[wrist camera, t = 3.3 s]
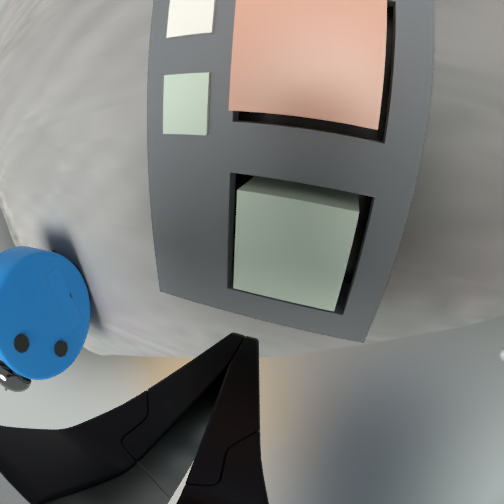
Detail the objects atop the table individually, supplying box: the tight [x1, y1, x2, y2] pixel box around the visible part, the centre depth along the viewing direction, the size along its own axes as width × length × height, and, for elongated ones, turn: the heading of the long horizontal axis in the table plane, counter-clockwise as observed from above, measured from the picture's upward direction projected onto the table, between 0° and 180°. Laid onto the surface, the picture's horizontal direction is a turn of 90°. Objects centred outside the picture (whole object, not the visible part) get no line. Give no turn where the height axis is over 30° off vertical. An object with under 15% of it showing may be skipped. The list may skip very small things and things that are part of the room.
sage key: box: [233, 176, 359, 311], centre depth 15 cm, size 5×5×4 cm
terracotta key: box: [228, 0, 387, 130], centre depth 9 cm, size 5×5×4 cm
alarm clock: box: [0, 246, 90, 392], centre depth 23 cm, size 13×6×15 cm, turn 3°
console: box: [147, 0, 434, 343], centre depth 12 cm, size 13×28×4 cm, turn 176°
